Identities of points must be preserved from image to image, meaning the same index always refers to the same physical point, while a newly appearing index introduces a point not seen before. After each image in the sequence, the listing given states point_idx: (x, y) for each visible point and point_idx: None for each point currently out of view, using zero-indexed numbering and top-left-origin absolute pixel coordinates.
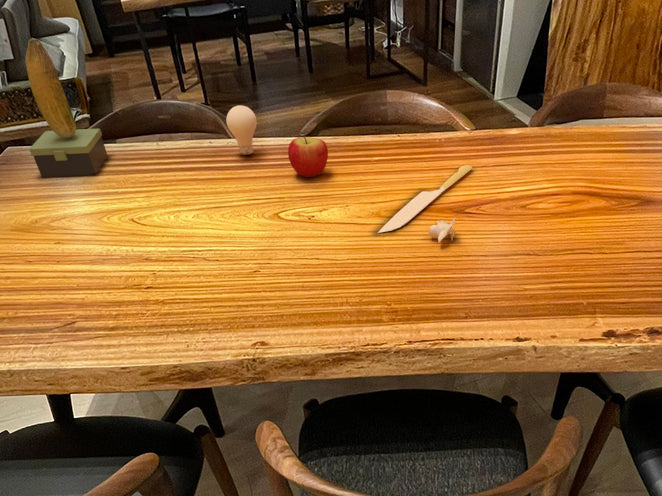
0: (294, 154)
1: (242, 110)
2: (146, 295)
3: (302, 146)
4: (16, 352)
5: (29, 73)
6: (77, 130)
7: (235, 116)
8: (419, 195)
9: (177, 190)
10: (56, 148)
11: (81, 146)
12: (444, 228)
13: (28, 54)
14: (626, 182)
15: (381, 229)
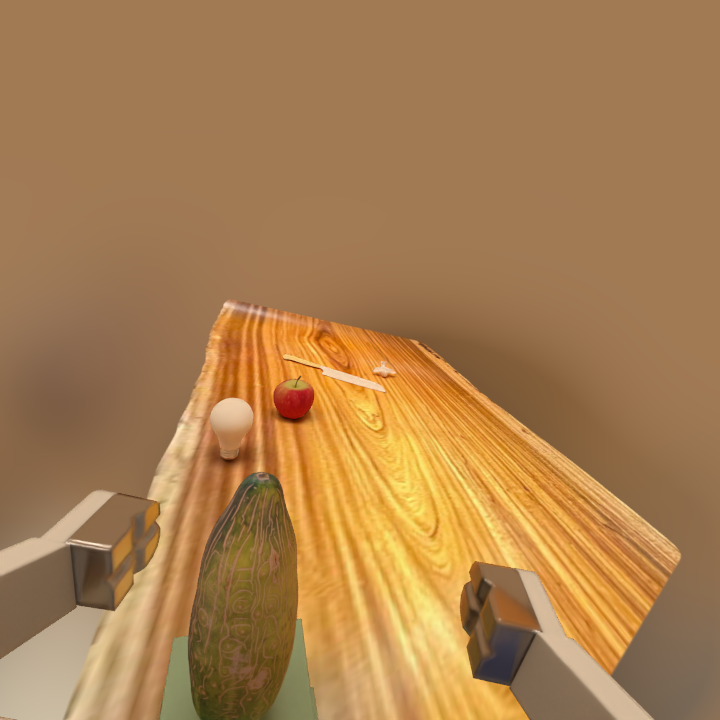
0: (311, 397)
1: (242, 400)
2: (535, 488)
3: (309, 386)
4: (669, 552)
5: (289, 591)
6: (172, 709)
7: (249, 409)
8: (328, 375)
9: (342, 508)
10: (312, 706)
11: (302, 630)
12: (386, 368)
13: (288, 529)
14: (302, 329)
15: (381, 390)
